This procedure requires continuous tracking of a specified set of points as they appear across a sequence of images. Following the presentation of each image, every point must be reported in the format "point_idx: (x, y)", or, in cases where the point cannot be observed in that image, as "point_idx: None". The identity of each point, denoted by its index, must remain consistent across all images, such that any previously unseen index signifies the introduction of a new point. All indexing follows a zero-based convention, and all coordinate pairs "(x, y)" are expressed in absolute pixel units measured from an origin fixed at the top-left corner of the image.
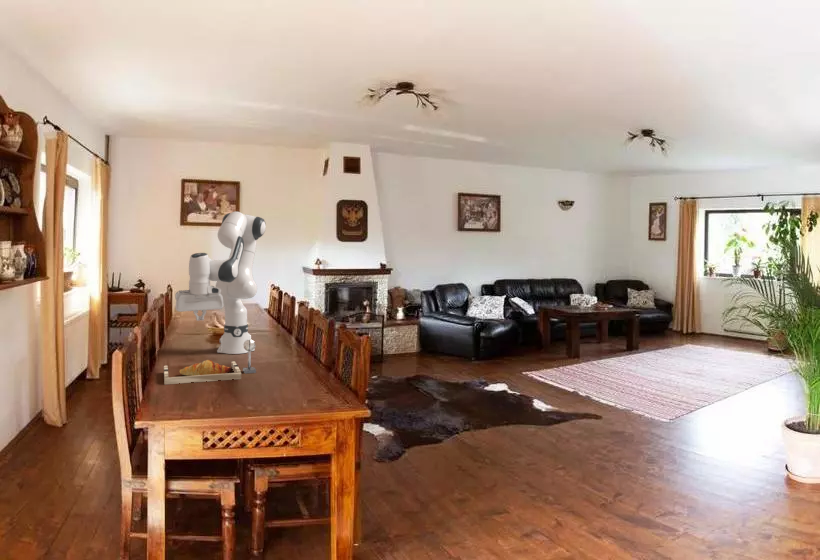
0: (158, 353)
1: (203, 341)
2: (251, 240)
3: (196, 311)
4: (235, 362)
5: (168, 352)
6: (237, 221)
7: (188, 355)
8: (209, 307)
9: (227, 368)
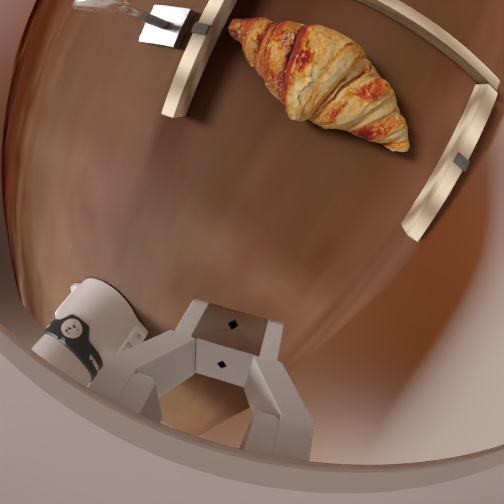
0: None
1: None
2: None
3: (278, 443)
4: (168, 93)
5: (244, 399)
6: None
7: None
8: (15, 382)
9: (247, 19)
